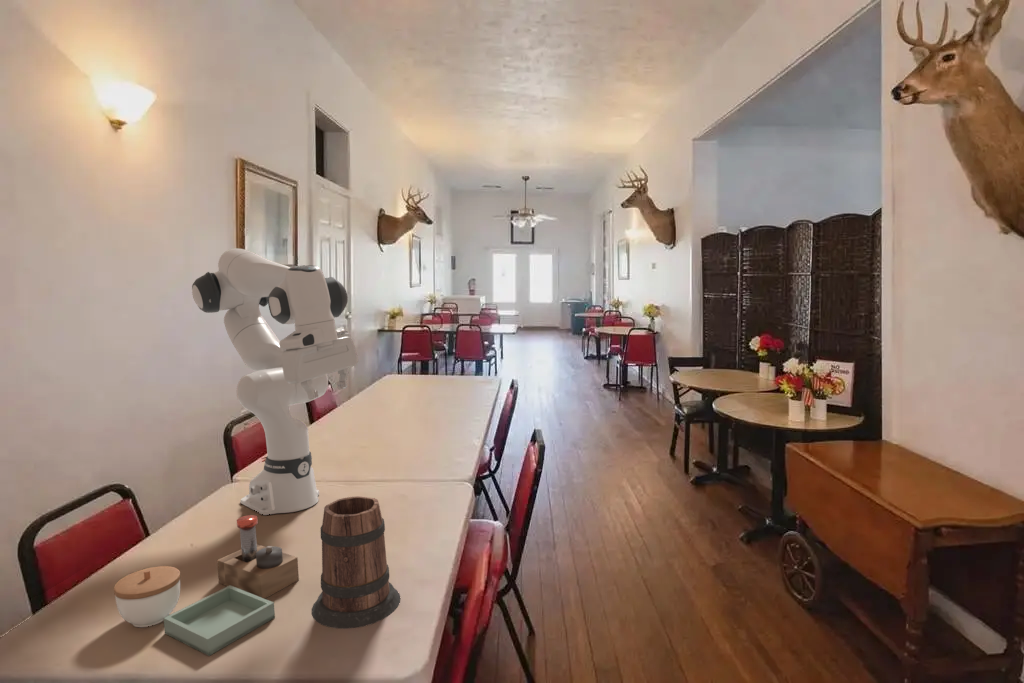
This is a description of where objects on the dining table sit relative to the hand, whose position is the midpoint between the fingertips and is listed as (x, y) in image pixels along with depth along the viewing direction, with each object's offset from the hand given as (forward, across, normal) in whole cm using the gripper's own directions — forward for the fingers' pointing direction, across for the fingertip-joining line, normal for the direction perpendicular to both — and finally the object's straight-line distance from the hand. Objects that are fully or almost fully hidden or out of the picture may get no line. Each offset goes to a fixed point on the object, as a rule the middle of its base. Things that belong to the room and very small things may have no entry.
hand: (328, 393), depth 142 cm
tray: (+34, +38, +1) cm, 51 cm away
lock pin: (+34, +23, -8) cm, 42 cm away
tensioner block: (+34, +24, -6) cm, 42 cm away
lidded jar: (+32, +42, -13) cm, 55 cm away
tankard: (+38, +19, +16) cm, 45 cm away
